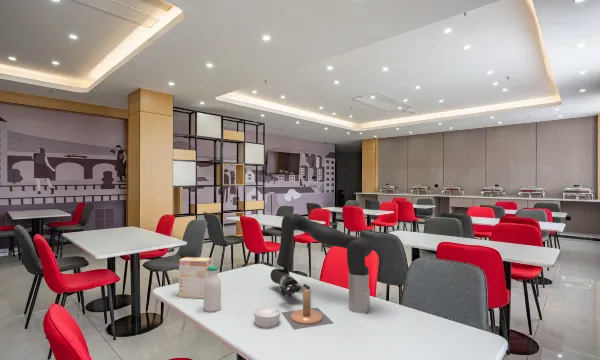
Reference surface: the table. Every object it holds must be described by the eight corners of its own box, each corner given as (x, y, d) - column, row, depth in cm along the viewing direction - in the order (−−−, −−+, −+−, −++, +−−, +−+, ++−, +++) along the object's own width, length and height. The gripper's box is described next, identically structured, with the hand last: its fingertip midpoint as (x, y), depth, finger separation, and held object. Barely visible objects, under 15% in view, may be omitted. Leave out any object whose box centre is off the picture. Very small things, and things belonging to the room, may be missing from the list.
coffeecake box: (211, 294, 170) (211, 257, 171) (205, 299, 163) (205, 260, 164) (185, 292, 173) (185, 256, 173) (178, 297, 166) (178, 259, 166)
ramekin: (279, 330, 130) (279, 317, 130) (251, 329, 130) (251, 316, 130) (281, 318, 141) (281, 306, 141) (256, 318, 142) (256, 306, 142)
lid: (327, 314, 145) (327, 287, 145) (315, 327, 132) (315, 297, 132) (298, 309, 151) (299, 283, 151) (285, 320, 138) (285, 292, 138)
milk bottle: (224, 309, 151) (224, 266, 151) (209, 313, 145) (210, 269, 146) (215, 304, 156) (215, 263, 156) (200, 309, 151) (201, 266, 151)
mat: (317, 308, 153) (317, 307, 153) (334, 324, 136) (334, 323, 136) (281, 313, 147) (281, 312, 147) (293, 330, 130) (293, 329, 130)
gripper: (275, 278, 163) (285, 287, 148) (302, 275, 168) (313, 284, 153) (275, 292, 163) (285, 304, 148) (301, 289, 168) (313, 300, 152)
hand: (299, 294), depth 150 cm, fingers open, 8 cm apart
